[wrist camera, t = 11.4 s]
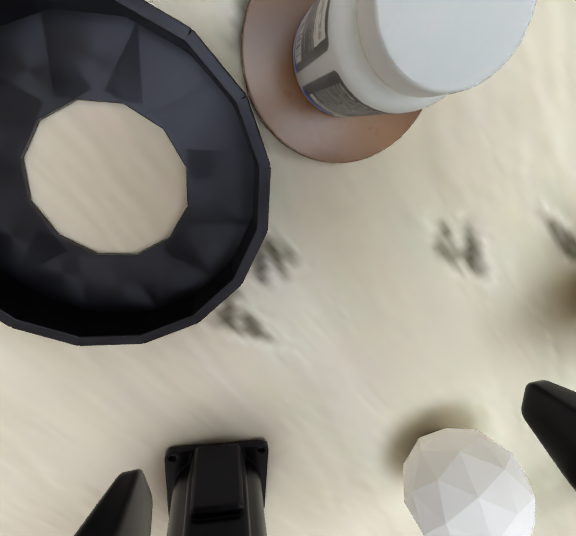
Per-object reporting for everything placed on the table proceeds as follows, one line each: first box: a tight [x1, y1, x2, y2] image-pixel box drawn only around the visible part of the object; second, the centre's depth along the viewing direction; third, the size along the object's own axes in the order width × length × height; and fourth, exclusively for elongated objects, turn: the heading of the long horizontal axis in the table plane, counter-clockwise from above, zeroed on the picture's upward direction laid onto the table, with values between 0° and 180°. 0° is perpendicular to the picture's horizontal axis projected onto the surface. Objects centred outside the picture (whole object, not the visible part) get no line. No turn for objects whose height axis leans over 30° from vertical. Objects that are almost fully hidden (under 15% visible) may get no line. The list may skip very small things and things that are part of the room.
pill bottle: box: [293, 0, 536, 117], centre depth 12 cm, size 5×5×8 cm
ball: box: [403, 428, 535, 536], centre depth 24 cm, size 8×8×8 cm
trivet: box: [241, 0, 422, 163], centre depth 16 cm, size 9×9×1 cm
